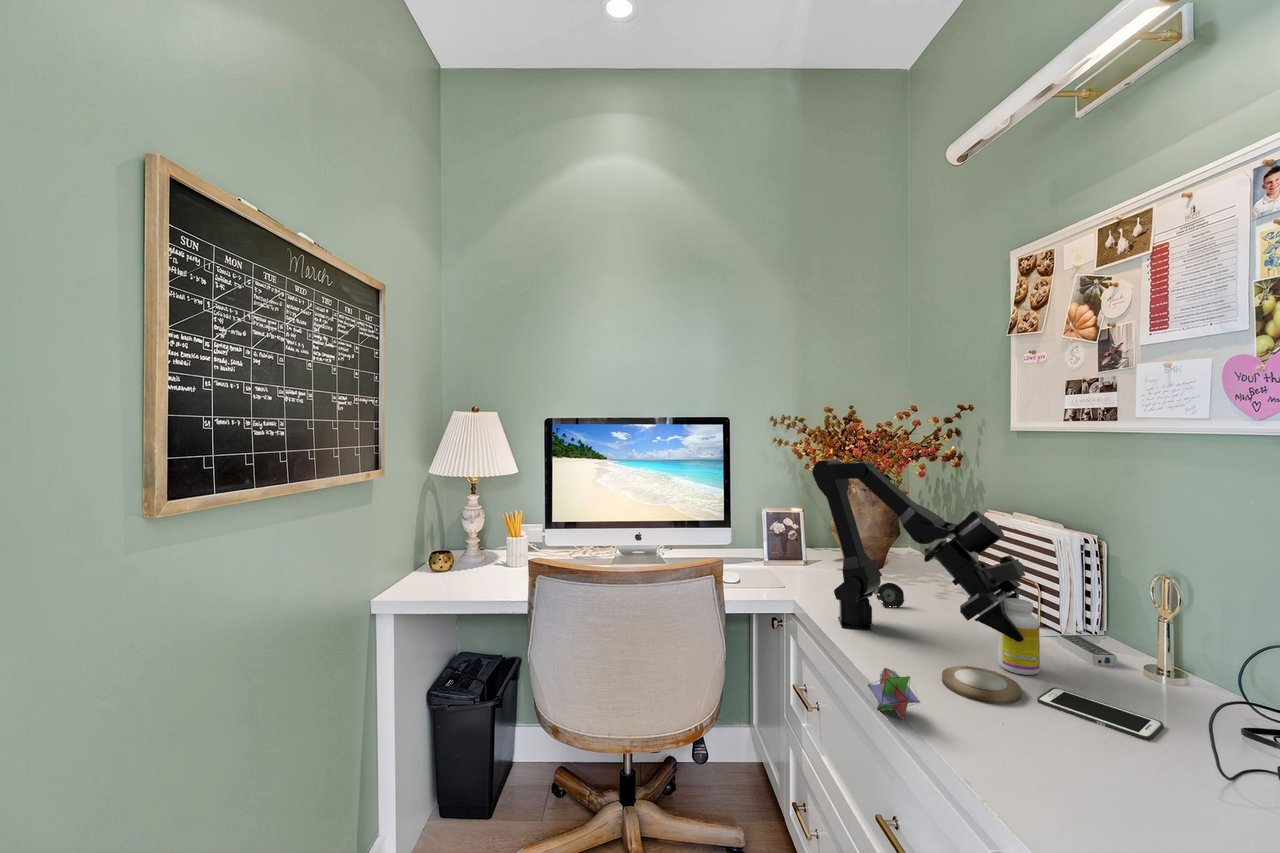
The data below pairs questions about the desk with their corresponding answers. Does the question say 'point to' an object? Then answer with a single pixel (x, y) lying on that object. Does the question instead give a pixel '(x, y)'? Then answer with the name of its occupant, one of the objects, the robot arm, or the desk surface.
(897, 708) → the geometric puzzle
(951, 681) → the brown rimmed plate
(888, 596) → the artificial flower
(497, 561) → the desk surface
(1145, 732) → the cell phone
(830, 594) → the desk surface
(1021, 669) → the supplement bottle
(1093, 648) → the multiport hub
